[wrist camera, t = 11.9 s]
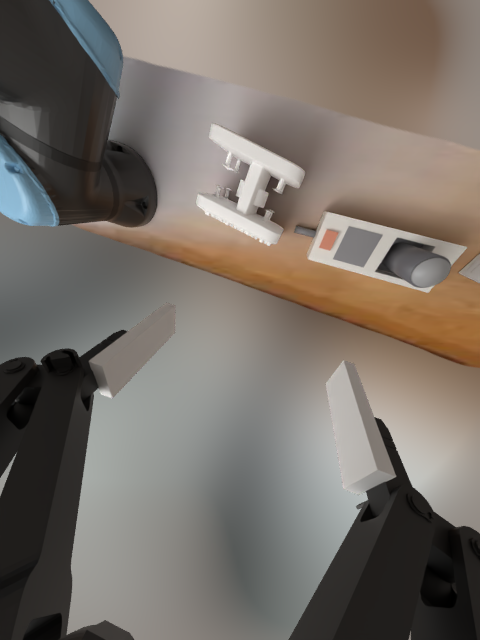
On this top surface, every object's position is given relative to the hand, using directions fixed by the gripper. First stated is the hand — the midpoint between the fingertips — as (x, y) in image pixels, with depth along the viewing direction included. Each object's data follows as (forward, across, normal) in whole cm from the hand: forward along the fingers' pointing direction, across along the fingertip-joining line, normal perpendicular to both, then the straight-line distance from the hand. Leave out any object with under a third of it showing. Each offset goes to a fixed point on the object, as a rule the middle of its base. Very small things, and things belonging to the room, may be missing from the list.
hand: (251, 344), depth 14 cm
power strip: (+32, +14, +6) cm, 35 cm away
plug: (+30, +20, +6) cm, 37 cm away
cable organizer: (+32, -8, +10) cm, 34 cm away
